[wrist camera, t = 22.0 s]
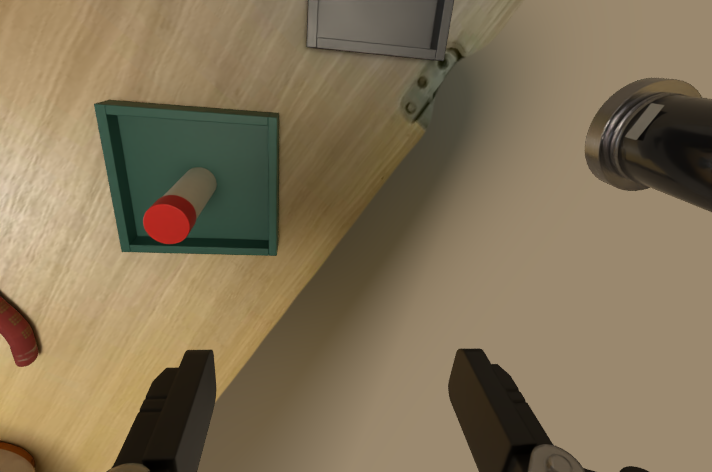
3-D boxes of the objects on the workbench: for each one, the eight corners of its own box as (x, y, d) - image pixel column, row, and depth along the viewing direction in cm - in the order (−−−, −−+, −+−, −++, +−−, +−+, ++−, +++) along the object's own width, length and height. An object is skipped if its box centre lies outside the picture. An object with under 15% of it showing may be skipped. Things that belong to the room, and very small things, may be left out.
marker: (216, 167, 37) (187, 205, 28) (218, 198, 38) (191, 245, 29) (181, 165, 36) (139, 203, 27) (184, 197, 37) (145, 243, 28)
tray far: (279, 112, 36) (277, 117, 33) (278, 244, 41) (276, 256, 39) (108, 99, 34) (93, 103, 31) (132, 240, 39) (121, 252, 37)
